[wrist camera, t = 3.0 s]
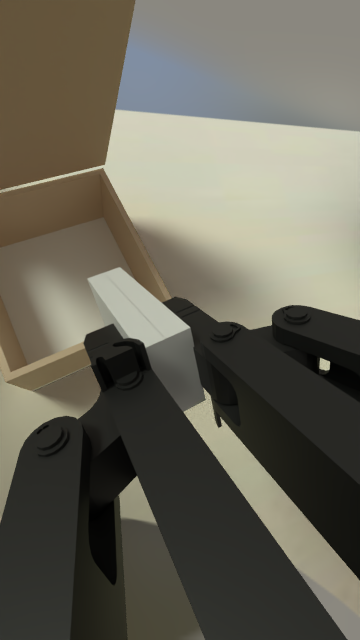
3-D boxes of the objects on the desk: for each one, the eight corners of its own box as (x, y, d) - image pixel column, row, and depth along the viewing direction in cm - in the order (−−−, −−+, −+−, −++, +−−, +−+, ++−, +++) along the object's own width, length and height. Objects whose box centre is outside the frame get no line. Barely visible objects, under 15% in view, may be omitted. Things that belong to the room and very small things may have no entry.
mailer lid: (-312, 2, 10) (-322, -17, 10) (-65, 205, 27) (-68, 198, 27) (138, -18, 15) (133, -30, 15) (104, 164, 32) (102, 159, 32)
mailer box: (32, 391, 32) (5, 382, 24) (-22, 252, 35) (-60, 207, 28) (165, 331, 37) (177, 308, 29) (106, 215, 40) (102, 168, 33)
